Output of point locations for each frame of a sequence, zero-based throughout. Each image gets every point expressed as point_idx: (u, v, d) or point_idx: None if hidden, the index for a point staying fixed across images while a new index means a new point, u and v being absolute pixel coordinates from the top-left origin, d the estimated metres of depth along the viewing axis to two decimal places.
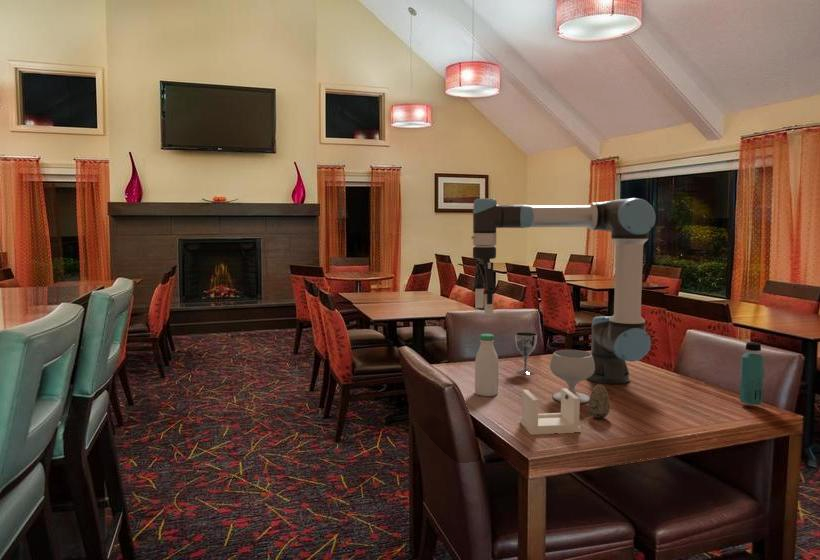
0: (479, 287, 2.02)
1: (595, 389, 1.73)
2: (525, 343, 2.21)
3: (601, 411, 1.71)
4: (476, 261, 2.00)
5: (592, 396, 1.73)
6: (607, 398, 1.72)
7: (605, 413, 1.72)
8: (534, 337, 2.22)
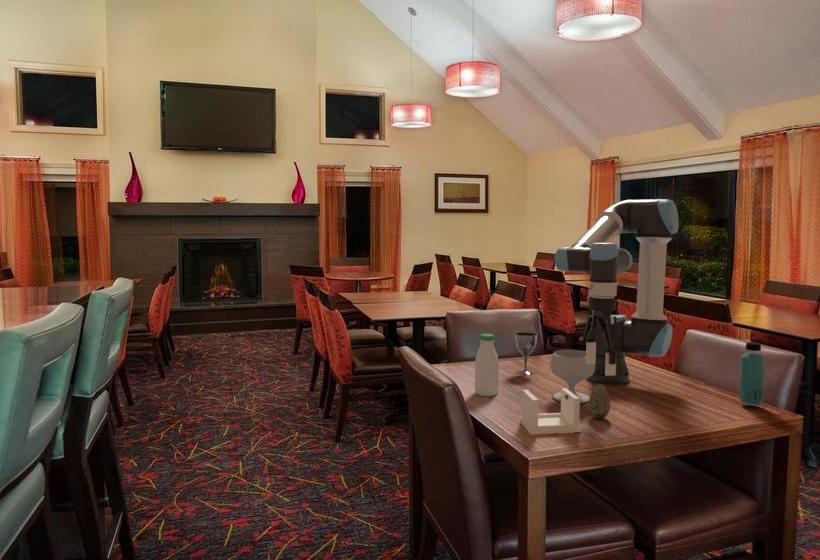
0: (591, 340, 1.79)
1: (595, 389, 1.73)
2: (525, 343, 2.21)
3: (601, 411, 1.71)
4: (589, 312, 1.77)
5: (592, 396, 1.73)
6: (607, 398, 1.72)
7: (605, 413, 1.72)
8: (534, 337, 2.22)
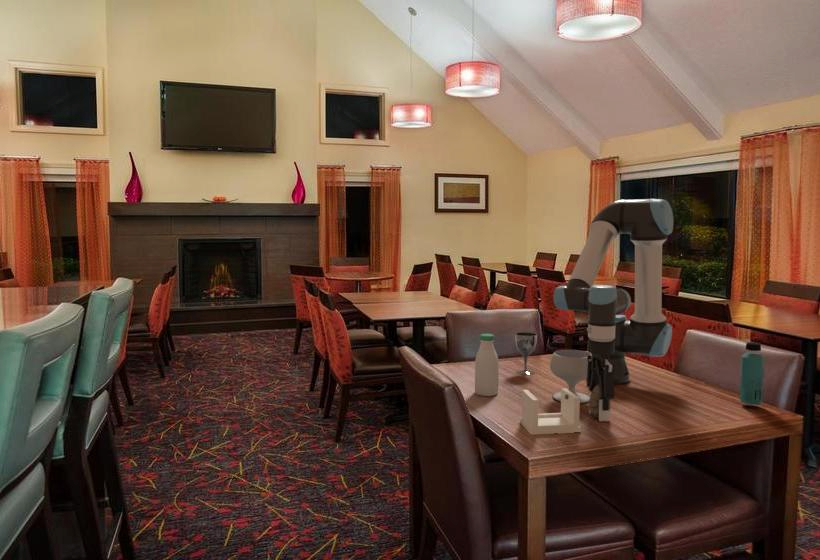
0: None
1: (595, 389, 1.73)
2: (525, 343, 2.21)
3: None
4: (588, 356, 1.78)
5: (592, 396, 1.73)
6: None
7: None
8: (534, 337, 2.22)
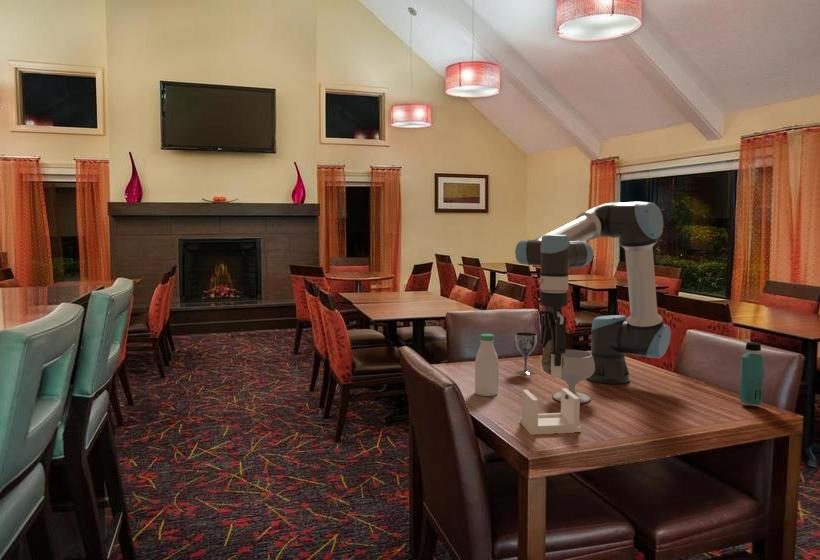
0: None
1: (548, 344, 1.64)
2: (525, 343, 2.21)
3: None
4: (541, 311, 1.69)
5: (545, 351, 1.64)
6: None
7: None
8: (534, 337, 2.22)
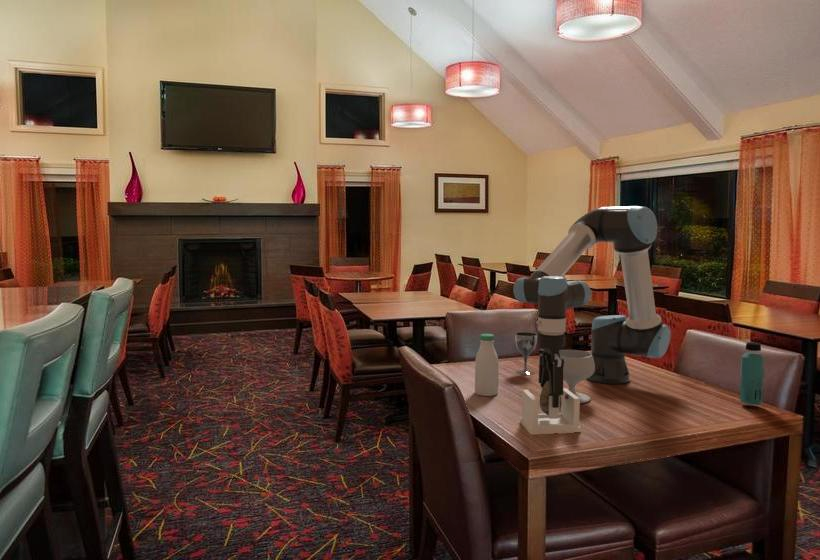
0: None
1: (546, 385, 1.65)
2: (525, 343, 2.21)
3: None
4: (539, 351, 1.70)
5: (542, 392, 1.65)
6: None
7: None
8: (534, 337, 2.22)
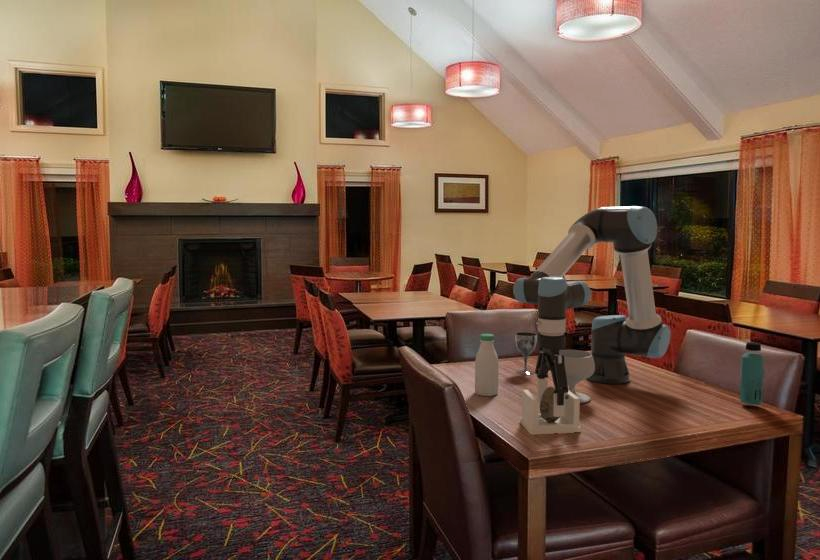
0: (542, 377, 1.72)
1: (545, 391, 1.65)
2: (525, 343, 2.21)
3: (551, 415, 1.63)
4: (539, 347, 1.70)
5: (542, 399, 1.65)
6: None
7: None
8: (534, 337, 2.22)
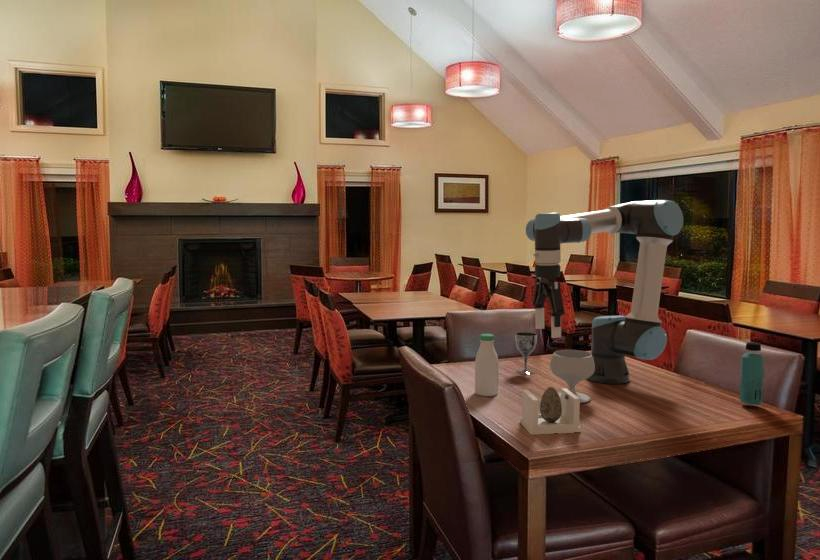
0: (539, 307, 1.89)
1: (546, 392, 1.65)
2: (525, 343, 2.21)
3: (551, 415, 1.63)
4: (536, 279, 1.87)
5: (543, 399, 1.65)
6: (558, 401, 1.64)
7: (556, 417, 1.64)
8: (534, 337, 2.22)
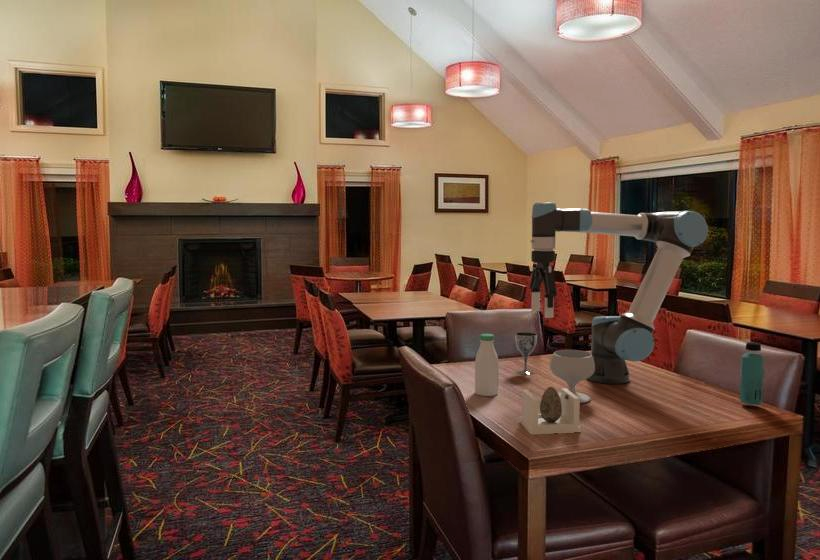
0: (535, 290, 2.03)
1: (546, 392, 1.65)
2: (525, 343, 2.21)
3: (551, 415, 1.63)
4: (533, 265, 2.01)
5: (543, 399, 1.65)
6: (558, 401, 1.64)
7: (556, 417, 1.64)
8: (534, 337, 2.22)
